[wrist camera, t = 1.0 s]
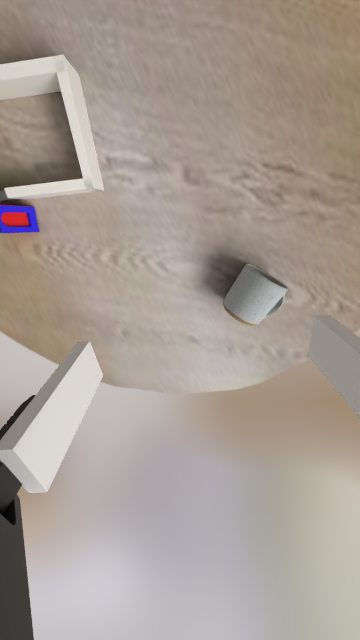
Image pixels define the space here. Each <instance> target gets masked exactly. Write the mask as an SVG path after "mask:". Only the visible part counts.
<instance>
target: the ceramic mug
mask: <svg viewBox="0 0 360 640" xmlns="http://www.w3.org/2000/svg"><path fill="white" fill-rule="evenodd" d="M287 291H288V288H287V287H286V286H285V285H284V284H283V283H281V282H280V281H278V280H277V279H276V278H274V277H272V276H271V275H269V274H268V273H266V272H264V271H263V270H261V269H259V268H257V267H255V266H253V265H251V264H246V265H245V266H244V268H243V269H242V271H241V273H240V274H239V276H238V277H237V279H236V281H235V282H234V284H233V286H232V287H231V289H230V290H229V292H228V293H227V295H226V297H225V299H224V302H223V305H224V308H225V310H226V311H227V312H228V313H229V314H230V315H231V316H232V317H233V318H235V319H236V320H238V321H239V322H241V323H243V324H246V325H250V326H253V325H256V324H258V323H259V322H260V321H261V320H262V319H263V318H264V317H268V316H270V315H272V314H274V313H275V312H276V311H277V310H278V309H279V308H280V307H281V306H282V304H283V303H284V300H285V293H286V292H287Z"/></svg>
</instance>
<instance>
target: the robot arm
mask: <svg viewBox="0 0 360 640" xmlns="http://www.w3.org/2000/svg"><path fill="white" fill-rule="evenodd" d="M308 357H309V358H310V359H311V360H312V361H313V362H314V364H315V365H316V366H317V367H318V369H319V370H320V371H321V372H322V373H323V375H324V376H325V377H326V378H327V379H328V381H329V382H330V383H331V384H332V385H333V387H334V388H335V389H336V390H337V391H338V392H339V394H340V395H341V396H342V397H343V399H344V400H345V401H346V402H347V403H348V405H349V406H350V407H351V408H352V409H353V411H354V412H355V413H356V414H357V415H358V417H359V418H360V338H359V337H358V336H357V335H356V334H354V333H353V332H351V331H350V330H349V329H347V328H346V327H345V326H343V325H342V324H341V323H339V322H338V321H337V320H335V319H334V318H333V317H331V316H330V315H320V316H314V321H313V327H312V333H311V339H310V346H309V352H308ZM102 377H103V374H102V371H101V369H100V366H99V364H98V361H97V359H96V356H95V354H94V351H93V348H92V346H91V343H90V341H86V342H78V343H77V344H76V345H75V346H74V348H73V349H72V350H71V351H70V353H69V354H68V355H67V356H66V358H65V359H64V360H63V362H62V363H61V364H60V365H59V367H58V368H57V369H56V370H55V372H54V373H53V374H52V375H51V377H50V378H49V379H48V380H47V382H46V383H45V384H44V386H43V387H42V388H41V389H40V391H39V392H38V394H37V395H33V396H31V397H30V398H29V399H28V400H26V401H25V402H24V403H23V404H21V406H20V407H19V408H18V409H17V410H16V412H15V413H14V415H13V416H11V418H10V419H9V420H8V421H7V424H5V425H4V426H3V427H2V428H1V430H0V640H34V638H33V628H32V618H31V608H30V598H29V588H28V577H27V567H26V557H25V548H24V539H23V528H22V518H21V507H20V500H19V497H18V495H17V492H18V491H19V489H20V487H21V486H23V487H24V488H25V489H26V490H27V491H28V492H29V493H38V492H47V491H48V489H49V487H50V485H51V483H52V481H53V479H54V477H55V475H56V473H57V470H58V468H59V466H60V464H61V462H62V460H63V458H64V456H65V454H66V452H67V450H68V448H69V445H70V444H71V441H72V439H73V437H74V435H75V433H76V431H77V429H78V427H79V425H80V423H81V421H82V419H83V417H84V414H85V412H86V410H87V408H88V406H89V404H90V402H91V400H92V398H93V396H94V394H95V392H96V390H97V388H98V385H99V383H100V381H101V379H102Z"/></svg>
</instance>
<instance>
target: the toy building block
mask: <svg viewBox="0 0 360 640" xmlns="http://www.w3.org/2000/svg"><path fill="white" fill-rule="evenodd" d="M19 232H39V228H38V223H37V218H36V213H35V208H34V207H31V206H16V205H8V204H0V233H19Z"/></svg>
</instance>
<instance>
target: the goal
mask: <svg viewBox="0 0 360 640" xmlns="http://www.w3.org/2000/svg"><path fill="white" fill-rule="evenodd" d="M54 92H62V96H63V100H64V104H65V108H66V112H67V116H68V120H69V124H70V128H71V132H72V136H73V140H74V144H75V148H76V152H77V156H78V160H79V164H80V168H81V172H82V176H83V179H75V180H66V181H58V182H50V183H42V184H34V185H25V186H17V187H9V188H4V190H5V192H6V195H7V197H8V198H11V199H26V200H28V199H36V198H45V197H53V196H62V195H70V194H79V193H87V192H96V191H104V187H103V182H102V178H101V173H100V168H99V164H98V159H97V155H96V150H95V146H94V141H93V137H92V132H91V127H90V123H89V118H88V114H87V109H86V105H85V100H84V96H83V91H82V86H81V82H80V77H79V75H78V73H77V72H76V71H75V69H74V68H73V67H72V66H71V64H70V63H69V62H68V60H67V59H66V58H65V56H64V55H57V56H51V57H45V58H38V59H32V60H26V61H19V62H13V63H6V64H0V100H6V99H13V98H20V97H27V96H34V95H40V94H47V93H54Z"/></svg>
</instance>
